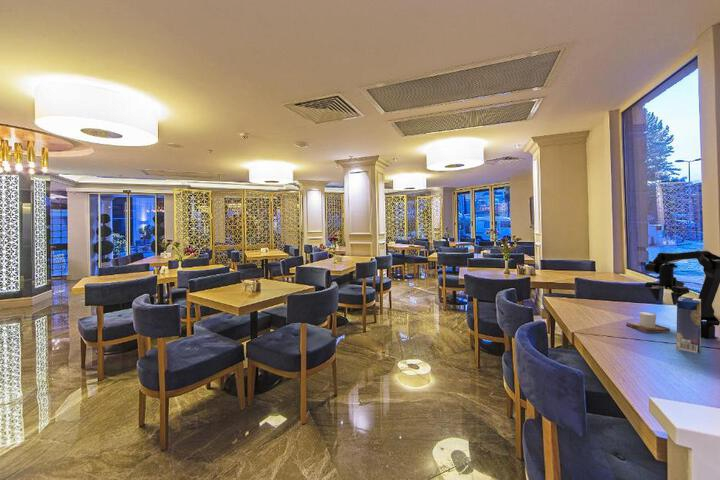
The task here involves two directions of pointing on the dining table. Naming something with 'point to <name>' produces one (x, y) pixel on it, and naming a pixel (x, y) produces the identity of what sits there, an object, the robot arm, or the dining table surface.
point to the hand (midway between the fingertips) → (665, 302)
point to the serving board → (648, 330)
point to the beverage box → (688, 324)
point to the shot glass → (647, 319)
